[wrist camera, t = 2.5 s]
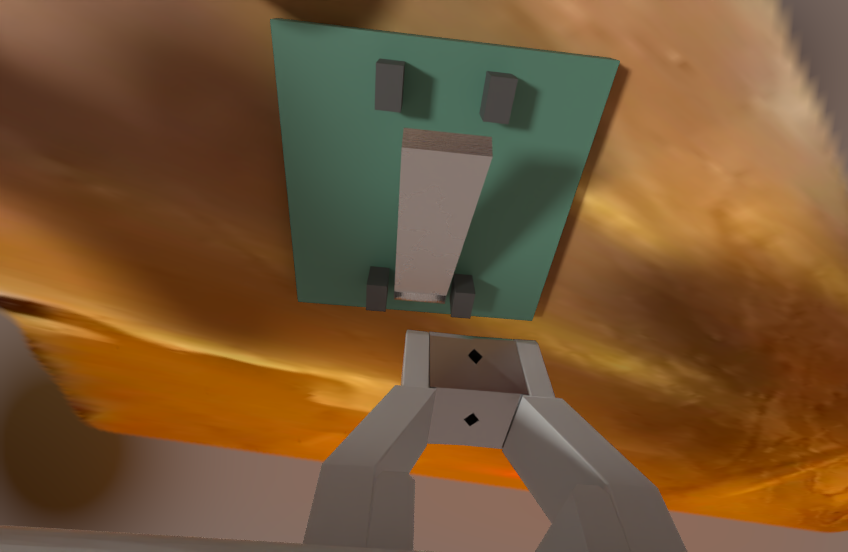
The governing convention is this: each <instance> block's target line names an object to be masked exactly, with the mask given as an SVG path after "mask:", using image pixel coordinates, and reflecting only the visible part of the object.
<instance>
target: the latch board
mask: <svg viewBox="0 0 848 552" xmlns="http://www.w3.org/2000/svg"><path fill="white" fill-rule="evenodd" d="M270 24H271V34H272V44H273V54H274V64H275V74H276V84H277V94H278V104H279V115H280V125H281V135H282V145H283V155H284V165H285V175H286V185H287V195H288V205H289V216H290V226H291V236H292V246H293V256H294V266H295V276H296V286H297V296H298V302H308V303H321V304H333V305H345V306H357V307H366V310H372V311H384V312H385V311H386V309H394V310H406V311H418V312H430V313H442V314H451V317H458V318H470V317H471V316H479V317H491V318H503V319H515V320H528V321H532V319H533V317H534V314H535V311H536V308H537V305H538V302H539V299H540V296H541V293H542V290H543V287H544V284H545V281H546V278H547V275H548V272H549V269H550V266H551V263H552V260H553V257H554V255H555V252H556V249H557V246H558V243H559V240H560V237H561V234H562V231H563V228H564V225H565V222H566V219H567V216H568V213H569V210H570V207H571V204H572V201H573V198H574V196H575V193H576V190H577V187H578V184H579V181H580V178H581V175H582V172H583V169H584V166H585V163H586V160H587V157H588V154H589V151H590V148H591V145H592V142H593V139H594V136H595V134H596V131H597V128H598V125H599V122H600V119H601V116H602V113H603V110H604V107H605V104H606V101H607V98H608V95H609V92H610V89H611V86H612V83H613V80H614V77H615V75H616V72H617V69H618V66H619V63H620V61H619V60H615V59H612V58H607V57H599V56H590V55H582V54H574V53H565V52H557V51H549V50H540V49H532V48H524V47H515V46H507V45H498V44H490V43H482V42H473V41H465V40H457V39H448V38H440V37H432V36H423V35H415V34H407V33H398V32H390V31H382V30H373V29H365V28H356V27H348V26H340V25H331V24H323V23H315V22H306V21H298V20H290V19H281V18H275V19H270ZM404 128H412V129H421V130H431V131H440V132H449V133H459V134H468V135H477V136H487V137H492V153H493V157H492V160H491V163H490V166H489V169H488V172H487V175H486V178H485V181H484V184H483V187H482V190H481V193H480V196H479V199H478V202H477V205H476V208H475V211H474V214H473V217H472V220H471V223H470V226H469V229H468V232H467V235H466V238H465V241H464V244H463V247H462V250H461V253H460V256H459V259H458V262H457V265H456V268H455V271H454V274H453V277H452V280H451V283H450V286H449V289H448V292H447V295H446V301H445V304H440V303H428V302H416V301H404V300H394V288H395V268H396V248H397V229H398V209H399V189H400V170H401V150H402V139H403V130H404Z"/></svg>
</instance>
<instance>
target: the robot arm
mask: <svg viewBox="0 0 848 552" xmlns="http://www.w3.org/2000/svg"><path fill="white" fill-rule="evenodd" d="M427 443H430V444H452V445H468V446H478V447H488V448H498V449H503V450H502V451H503V453H504V454H505V456H506V457H507V459H508V460H509V462H510V463H511V465H512V466H513V467H514V469H515V470H516V472H517V473H518V475H519V476H520V478H521V479H522V481H523V482H524V484H525V485H526V487H527V488H528V489H529V491H530V492H531V494H532V495H533V497H534V498H535V499H536V501H537V503H538V504H539V505H540V507H541V508H542V510H543V511H544V513H545V514H546V516H547V517H548V519H549V520H550V521H551V523H552V525H551V526H550V528H549V530H548V531H547V533H546V534H545V536H544V538H543V539H542V541H541V543H540V544H539V546H538V548H537V549H536V551H535V552H687V550H686V548H685V546H684V544H683V541H682V539H681V537H680V535H679V533H678V531H677V529H676V526H675V524H674V522H673V520H672V518H671V516H670V513H669V511H668V509H667V507H666V505H665V503H664V501H663V498H662V496H661V494H660V492H659V490H658V488H657V487H656V486H655V485H654V484H653V483H652V482H650V481H649V480H648V479H647V478H646V477H645V476H644V475H643V474H642V473H641V472H640V471H639V470H638V469H637V468H636V467H635V466H633V465H632V464H631V463H630V462H629V461H628V460H627V459H626V458H625V457H624V456H623V455H622V454H621V453H620V452H619V451H617V450H616V449H615V448H614V447H613V446H612V445H611V444H610V443H609V442H608V441H607V440H606V439H605V438H604V437H603V436H602V435H600V434H599V433H598V432H597V431H596V430H595V429H594V428H593V427H592V426H591V425H590V424H589V423H588V422H587V421H586V420H585V419H583V418H582V417H581V416H580V415H579V414H578V413H577V412H576V411H575V410H574V409H573V408H572V407H571V406H570V405H569V404H567V403H566V402H565V401H564V400H563V399H561V398H555V395H554V392H553V388H552V385H551V382H550V379H549V376H548V373H547V370H546V367H545V364H544V361H543V357H542V354H541V351H540V348H539V345H538V343H537V342H536V341H533V340H519V339H513V340H512V339H502V338H489V337H477V336H465V335H456V334H447V333H438V332H429V333H428V332H424V331H415V330H407V332H406V339H405V349H404V358H403V368H402V377H401V386H399V385H395V386H394V387H393V388H392V389H391V391H390V392H389V393H388V394H387V395H386V396H385V397H384V398H383V399H382V400H381V401H380V402H379V403H378V404H377V406H376V407H375V408H374V409H373V410H372V411H371V412H370V413H369V414H368V415H367V416H366V417H365V418H364V419H363V421H362V422H361V423H360V424H359V425H358V426H357V427H356V428H355V429H354V430H353V431H352V432H351V433H350V434H349V436H348V437H347V438H346V439H345V440H344V441H343V442H342V443H341V444H340V445H339V446H338V447H337V448H336V450H335V451H334V452H333V453H332V454H331V455H330V456H329V457H328V458H327V459H326V460H325V461H324V462H323V463H322V466H321V471H320V474H319V478H318V483H317V487H316V491H315V495H314V499H313V503H312V508H311V511H310V516H309V520H308V524H307V528H306V532H305V536H304V540H303V544H300V543H284V542H267V541H250V540H234V539H218V538H201V537H184V536H168V535H152V534H151V535H150V534H136V533H134V534H133V533H119V532H103V531H86V530H69V529H52V528H37V527H20V526H3V525H0V552H430V551H416V550H413V539H414V538H413V537H414V498H415V496H414V495H415V480H414V479H413V478H412V477H411V476H410V475H409V472H410V471H411V469H412V468H413V466H414V465H415V463H416V462H417V460H418V458H419V457H420V455H421V454H422V452H423V451H424V449H425V447H426V446H427Z"/></svg>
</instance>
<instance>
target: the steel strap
mask: <svg viewBox="0 0 848 552" xmlns="http://www.w3.org/2000/svg"><path fill="white" fill-rule="evenodd" d="M492 157H493V153H492V137H487V136H477V135H468V134H459V133H449V132H440V131H431V130H421V129H412V128H404V130H403V139H402V150H401V170H400V189H399V209H398V229H397V248H396V268H395V288H394V300H404V301H416V302H428V303H440V304H445V301H446V295H447V292H448V289H449V286H450V283H451V280H452V277H453V274H454V271H455V268H456V265H457V262H458V259H459V256H460V253H461V250H462V247H463V244H464V241H465V238H466V235H467V232H468V229H469V226H470V223H471V220H472V217H473V214H474V211H475V208H476V205H477V202H478V199H479V196H480V193H481V190H482V187H483V184H484V181H485V178H486V175H487V172H488V169H489V166H490V163H491V160H492Z"/></svg>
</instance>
